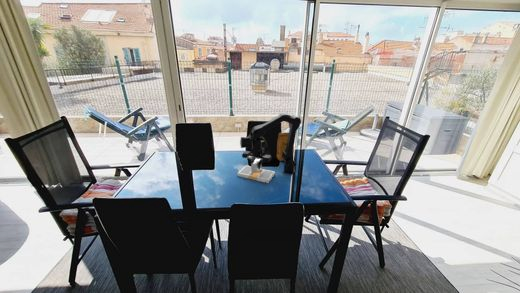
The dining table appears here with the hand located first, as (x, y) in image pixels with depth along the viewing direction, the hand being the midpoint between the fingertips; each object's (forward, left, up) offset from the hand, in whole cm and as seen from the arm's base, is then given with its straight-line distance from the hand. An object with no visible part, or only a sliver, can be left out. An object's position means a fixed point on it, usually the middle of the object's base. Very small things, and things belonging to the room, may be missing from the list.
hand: (256, 168), depth 145 cm
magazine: (+8, -26, -6) cm, 28 cm away
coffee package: (-10, -32, -6) cm, 34 cm away
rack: (0, 0, -5) cm, 5 cm away
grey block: (0, 0, -1) cm, 1 cm away
